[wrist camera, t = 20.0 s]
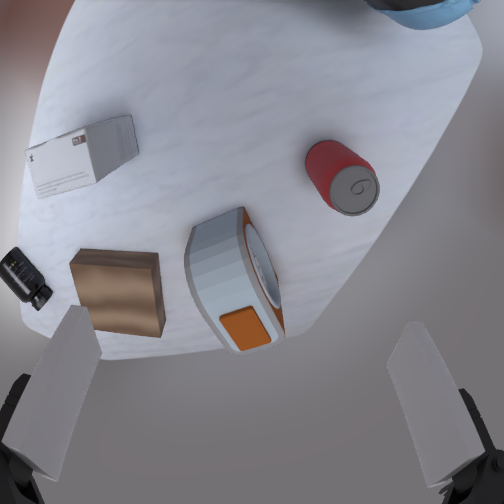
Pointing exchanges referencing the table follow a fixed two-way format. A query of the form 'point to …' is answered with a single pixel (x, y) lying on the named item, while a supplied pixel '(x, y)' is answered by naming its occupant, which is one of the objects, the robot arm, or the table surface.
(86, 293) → the walnut block
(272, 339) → the alarm clock
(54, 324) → the table surface
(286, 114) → the table surface
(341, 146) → the beer can
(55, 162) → the skincare box
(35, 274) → the supplement bottle
